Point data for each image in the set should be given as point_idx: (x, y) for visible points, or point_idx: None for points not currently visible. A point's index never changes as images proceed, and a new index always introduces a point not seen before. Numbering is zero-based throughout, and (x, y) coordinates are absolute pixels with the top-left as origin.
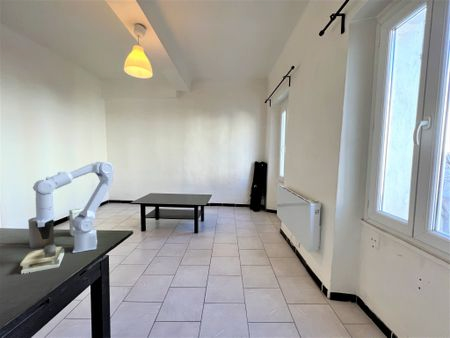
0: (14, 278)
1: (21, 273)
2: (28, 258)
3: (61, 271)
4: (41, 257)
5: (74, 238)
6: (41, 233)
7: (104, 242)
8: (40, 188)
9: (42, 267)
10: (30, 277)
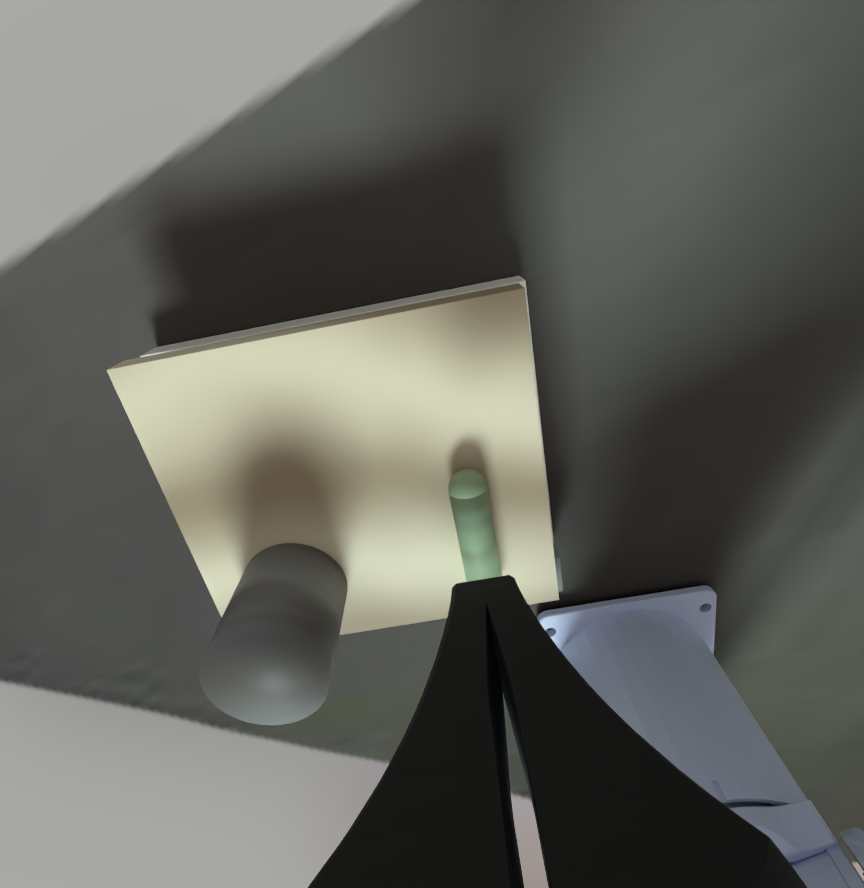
0: (71, 327)
1: (156, 349)
2: (257, 390)
3: (172, 637)
4: (259, 522)
5: (646, 731)
6: (437, 687)
7: None
8: None
9: None
10: (85, 461)
